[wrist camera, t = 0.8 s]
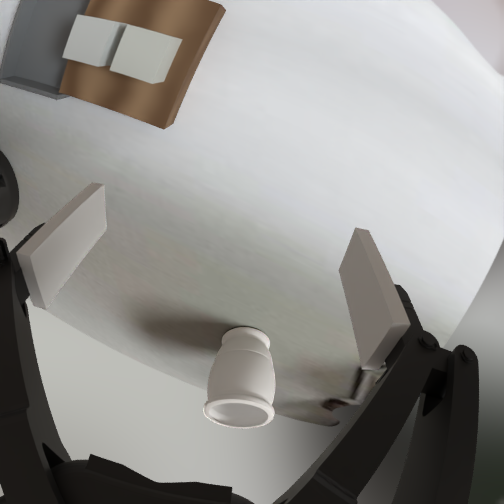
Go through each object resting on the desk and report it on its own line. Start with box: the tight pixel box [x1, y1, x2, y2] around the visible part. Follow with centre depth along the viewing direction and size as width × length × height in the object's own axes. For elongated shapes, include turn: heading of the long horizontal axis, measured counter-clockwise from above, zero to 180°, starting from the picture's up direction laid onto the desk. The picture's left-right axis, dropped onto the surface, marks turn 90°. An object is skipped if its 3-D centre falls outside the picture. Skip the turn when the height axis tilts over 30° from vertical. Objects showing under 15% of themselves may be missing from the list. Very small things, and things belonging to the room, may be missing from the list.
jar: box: [203, 327, 275, 428], centre depth 48 cm, size 11×10×15 cm
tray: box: [0, 0, 90, 100], centre depth 24 cm, size 12×17×4 cm
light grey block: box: [62, 14, 130, 67], centre depth 23 cm, size 5×5×4 cm
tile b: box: [110, 24, 183, 84], centre depth 25 cm, size 5×5×4 cm
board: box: [59, 0, 226, 129], centre depth 27 cm, size 15×15×4 cm
